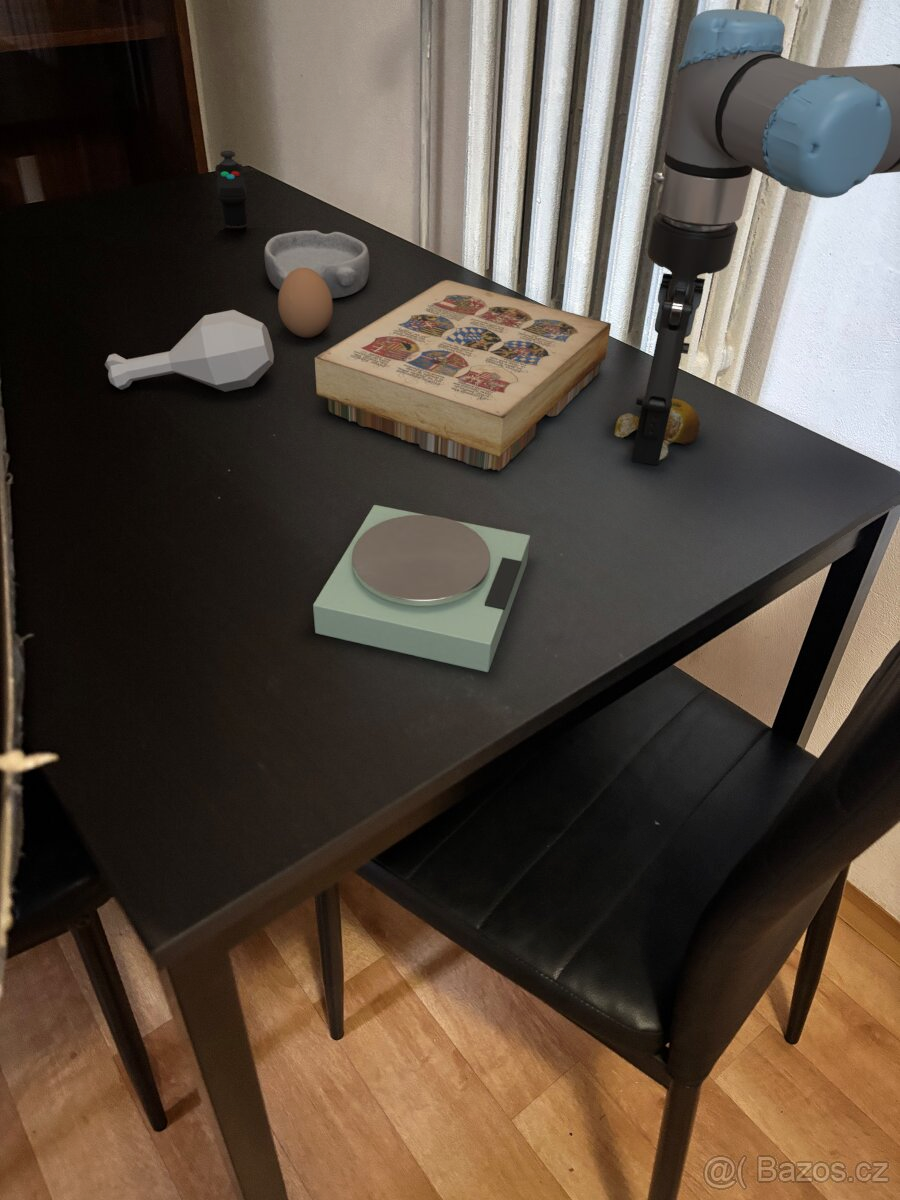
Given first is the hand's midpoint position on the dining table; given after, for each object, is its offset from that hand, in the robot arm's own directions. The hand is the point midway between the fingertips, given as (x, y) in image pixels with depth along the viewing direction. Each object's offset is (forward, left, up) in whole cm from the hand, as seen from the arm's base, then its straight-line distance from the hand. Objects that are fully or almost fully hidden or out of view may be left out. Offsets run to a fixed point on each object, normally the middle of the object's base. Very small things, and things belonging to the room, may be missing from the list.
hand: (651, 434), depth 95 cm
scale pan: (+15, +32, +3) cm, 36 cm away
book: (+22, -4, 0) cm, 22 cm away
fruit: (0, 0, 0) cm, 0 cm away
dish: (+48, -26, 0) cm, 55 cm away
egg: (+43, -10, 0) cm, 44 cm away
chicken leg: (+50, +6, 0) cm, 50 cm away
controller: (+67, -40, 0) cm, 78 cm away
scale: (+15, +32, 0) cm, 35 cm away
